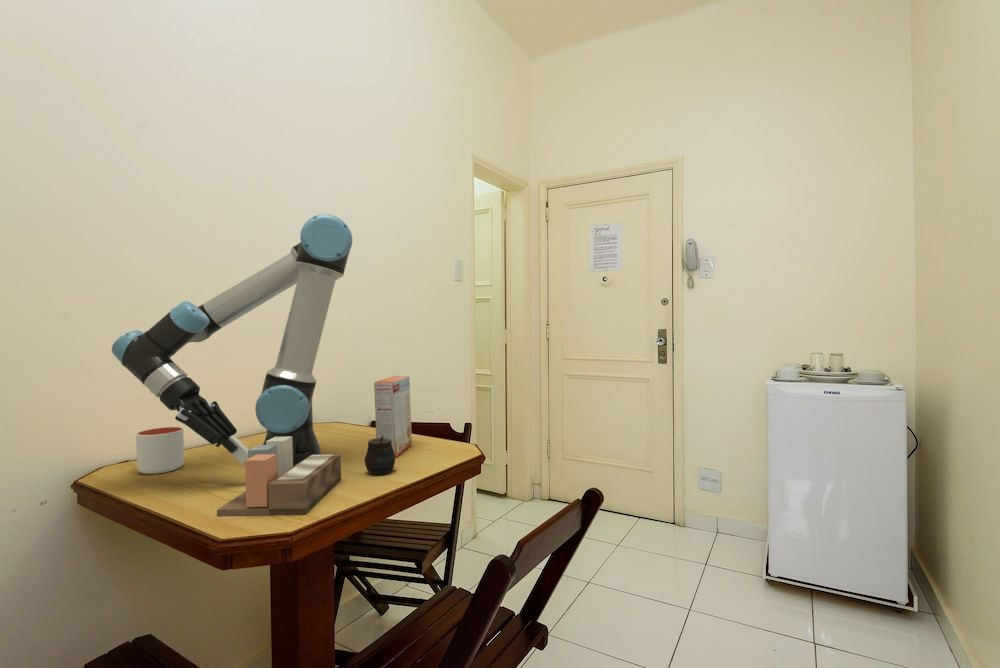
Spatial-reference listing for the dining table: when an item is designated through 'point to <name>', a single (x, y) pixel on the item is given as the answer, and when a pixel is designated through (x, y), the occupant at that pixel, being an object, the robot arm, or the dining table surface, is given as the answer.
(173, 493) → the dining table surface
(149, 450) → the cup
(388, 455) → the mate gourd
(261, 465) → the pink tall block
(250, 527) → the dining table surface
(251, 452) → the slate key
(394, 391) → the cracker box
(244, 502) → the key console
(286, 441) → the ivory key
